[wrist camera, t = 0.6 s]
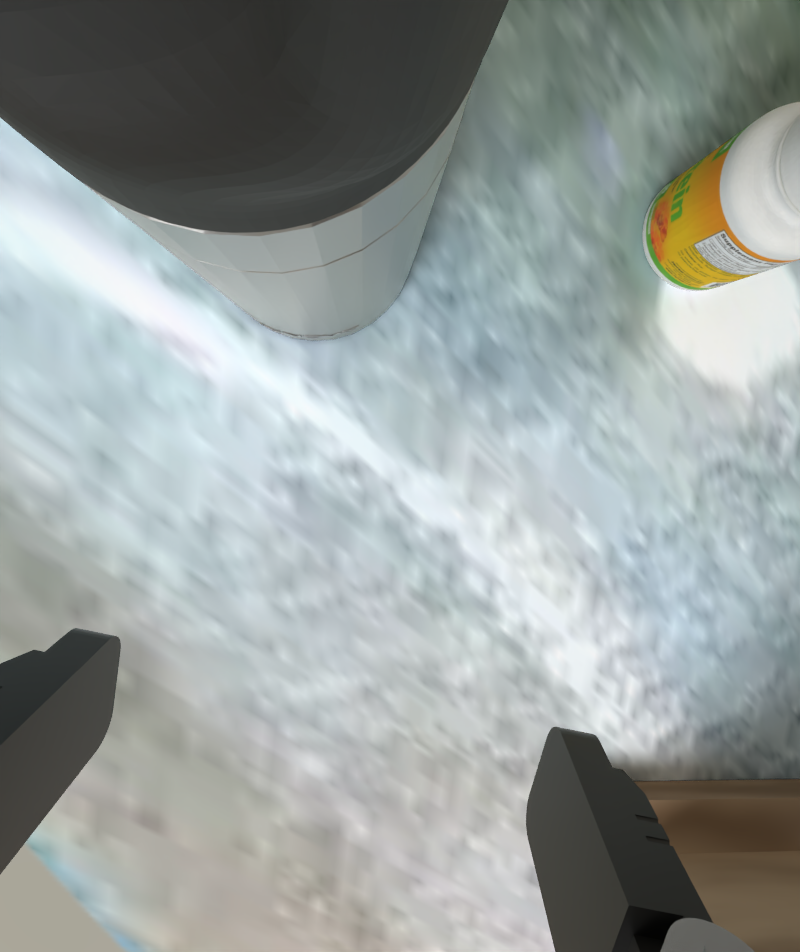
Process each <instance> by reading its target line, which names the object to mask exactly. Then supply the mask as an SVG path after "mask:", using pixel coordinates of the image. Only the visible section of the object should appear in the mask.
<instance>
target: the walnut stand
mask: <svg viewBox="0 0 800 952" xmlns="http://www.w3.org/2000/svg"><path fill="white" fill-rule="evenodd" d="M634 783H635V784H636V785H637V786H638V787H639V788H640V789H641V790H642V791H643V792H644V793H645V794H646V796H647V798H648V800H649V802H650V804H651V806H652V808H653V810H654V811H655V813H656V815H657V817H658V823H659V824H661V825H662V827H663V828H664V830H665V832H666V834H667V836H668V838H669V840H670V846H673V847H674V849H675V851H676V853H677V855H678V857H679V859H680V861H681V863H682V864H683V866H684V868H685V870H686V872H687V874H688V876H689V878H690V880H691V881H692V883H693V885H694V887H695V889H696V891H697V893H698V895H699V897H700V898H701V900H702V902H703V904H704V906H705V908H706V910H707V912H708V914H709V915H710V917H711V919H712V921H713V923H714V924H716V925H718V926H720V927H722V928H724V929H726V930H727V931H729V932H731V933H732V934H734V935H735V936H737V937H738V938H739V939H741V940H742V941H743V942H745V943H746V944H747V945H748V946H749V947H750V948H752V949H753V950H754V951H755V952H800V779H769V780H700V781H634Z"/></svg>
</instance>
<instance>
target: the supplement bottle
mask: <svg viewBox="0 0 800 952" xmlns="http://www.w3.org/2000/svg"><path fill="white" fill-rule="evenodd" d="M643 247H644V251H645V255H646V257H647V260H648V262H649V264H650V266H651V267H652V269H653V270H654V271H655V272H656V274H657V275H658V276H659V277H660V278H662V279H663V280H664V281H665V282H667V283H668V284H670V285H672V286H674V287H676V288H679V289H683V290H690V291H701V290H708V289H712V288H716V287H719V286H722V285H725V284H728V283H731V282H734V281H737V280H740V279H743V278H746V277H749V276H752V275H755V274H758V273H761V272H764V271H767V270H770V269H773V268H776V267H779V266H781V265H784V264H787V263H791V262H794V261H796V260H800V102H796V103H791V104H787V105H784V106H781V107H778V108H776V109H774V110H772V111H770V112H768V113H766V114H765V115H763V116H762V117H760V118H759V119H757V120H756V121H754V122H753V123H751V124H750V125H749V126H747V127H746V128H745V129H743V130H742V131H741V132H739V133H738V134H736V135H735V136H734V137H732V138H731V139H730V140H728V141H727V142H725V143H724V144H723V145H721V146H720V147H719V148H717V149H716V150H715V151H713V152H712V153H710V154H709V155H708V156H706V157H705V158H703V159H702V160H701V161H699V162H698V163H697V164H695V165H694V166H692V167H691V168H689V169H688V170H687V171H685V172H684V173H682V174H681V175H680V176H678V177H677V178H675V179H674V180H673V181H671V182H670V183H669V184H668V185H666V186H665V187H664V188H663V189H662V190H661V191H660V192H659V193H658V194H657V196H656V197H655V198H654V200H653V201H652V203H651V205H650V207H649V209H648V211H647V214H646V216H645V220H644V224H643Z"/></svg>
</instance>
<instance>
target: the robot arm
mask: <svg viewBox="0 0 800 952" xmlns="http://www.w3.org/2000/svg"><path fill="white" fill-rule="evenodd" d="M507 2H508V0H0V117H1V118H2V119H3V120H4V121H5V122H6V123H8V124H9V125H10V126H11V127H12V128H14V129H15V130H16V131H17V132H19V133H20V134H21V135H22V136H24V137H25V138H26V139H27V140H28V141H30V142H31V143H32V144H33V145H35V146H36V147H37V148H38V149H40V150H41V151H42V152H43V153H45V154H46V155H47V156H48V157H50V158H51V159H52V160H53V161H55V162H56V163H57V164H58V165H60V166H61V167H62V168H64V169H65V170H66V171H68V172H69V173H70V174H72V175H73V176H74V177H76V178H77V179H78V180H80V181H81V182H82V183H83V184H85V185H86V186H87V187H88V188H90V189H91V190H92V191H93V192H95V193H96V194H97V195H99V196H100V197H101V198H102V199H104V200H105V201H106V202H107V203H109V204H110V205H111V206H112V207H114V208H115V209H116V210H117V211H119V212H120V213H121V214H123V215H124V216H125V217H126V218H128V219H129V220H130V221H132V222H133V223H134V224H136V225H137V226H138V227H139V228H141V229H142V230H143V231H144V232H146V233H147V234H148V235H149V236H151V237H152V238H153V239H154V240H156V241H157V242H158V243H159V244H161V245H162V246H163V247H164V248H166V249H167V250H168V251H169V252H170V253H172V254H173V255H174V256H175V257H177V258H178V259H179V260H180V261H182V262H183V263H184V264H185V265H187V266H188V267H189V268H190V269H192V270H193V271H194V272H195V273H197V274H198V275H199V276H200V277H202V278H203V279H204V280H205V281H207V282H208V283H209V284H210V285H212V286H213V287H214V288H215V289H217V290H218V291H219V292H220V293H222V294H223V295H224V296H225V297H227V298H228V299H229V300H230V301H232V302H233V303H234V304H235V305H236V306H238V307H239V308H240V309H241V310H243V311H244V312H245V313H247V314H248V315H249V316H250V317H252V318H253V319H254V320H256V321H257V322H259V323H260V324H261V325H263V326H265V327H267V328H269V329H270V330H272V331H274V332H277V333H280V334H282V335H285V336H288V337H291V338H295V339H302V340H309V341H321V340H334V339H337V338H341V337H344V336H348V335H351V334H354V333H356V332H358V331H360V330H361V329H363V328H365V327H367V326H369V325H370V324H372V323H373V322H374V321H376V320H377V319H378V318H379V317H380V316H381V315H382V314H384V313H385V312H386V311H387V310H388V309H389V307H390V306H391V305H392V303H393V302H394V301H395V299H396V298H397V297H398V295H399V294H400V292H401V290H402V288H403V286H404V284H405V281H406V279H407V277H408V275H409V272H410V269H411V266H412V264H413V261H414V258H415V256H416V253H417V250H418V247H419V244H420V241H421V238H422V235H423V232H424V229H425V227H426V224H427V221H428V218H429V215H430V212H431V209H432V206H433V203H434V200H435V197H436V194H437V191H438V188H439V185H440V182H441V179H442V176H443V173H444V170H445V167H446V164H447V161H448V158H449V155H450V152H451V150H452V147H453V144H454V141H455V138H456V135H457V132H458V129H459V126H460V123H461V120H462V117H463V112H464V109H465V106H466V103H467V100H468V97H469V94H470V91H471V88H472V85H473V83H474V80H475V77H476V74H477V72H478V69H479V67H480V65H481V62H482V59H483V57H484V55H485V53H486V51H487V49H488V47H489V44H490V42H491V40H492V37H493V35H494V33H495V30H496V28H497V26H498V24H499V21H500V19H501V17H502V14H503V12H504V10H505V7H506V5H507ZM120 648H121V643H120V639H119V638H118V637H117V636H112V635H107V634H103V633H98V632H93V631H88V630H83V629H78V628H75V629H72V630H71V631H69V632H68V633H67V634H66V635H65V636H63V637H62V638H61V639H60V640H59V641H57V642H56V643H55V644H54V645H53V646H51V647H50V648H49V649H48V650H47V651H45V652H42V651H37V650H32V651H30V652H28V653H25V654H23V655H20V656H18V657H15V658H13V659H11V660H8V661H6V662H3V663H1V664H0V874H1V873H2V871H3V870H4V869H5V868H6V866H7V865H8V864H9V863H10V861H11V860H12V859H13V857H14V856H15V855H16V854H17V852H18V851H19V850H20V848H21V847H22V846H23V845H24V843H25V842H26V841H27V839H28V838H29V837H30V836H31V834H32V833H33V832H34V830H35V829H36V828H37V827H38V825H39V824H40V823H41V821H42V820H43V819H44V818H45V816H46V815H47V814H48V812H49V811H50V810H51V809H52V807H53V806H54V805H55V803H56V802H57V801H58V800H59V798H60V797H61V796H62V794H63V793H64V792H65V791H66V789H67V788H68V787H69V785H70V784H71V783H72V782H73V780H74V779H75V778H76V776H77V775H78V774H79V773H80V771H81V770H82V769H83V767H84V766H85V765H86V764H87V762H88V761H89V760H90V758H91V757H92V756H93V755H94V753H95V752H96V751H97V749H98V748H99V746H100V745H101V743H102V741H103V739H104V737H105V735H106V732H107V730H108V727H109V724H110V721H111V718H112V713H113V706H114V698H115V690H116V682H117V674H118V666H119V657H120ZM526 827H527V835H528V840H529V844H530V848H531V852H532V857H533V861H534V865H535V869H536V873H537V877H538V881H539V886H540V890H541V894H542V898H543V902H544V906H545V910H546V915H547V919H548V923H549V927H550V931H551V935H552V939H553V943H554V948H555V952H755V951H754V950H753V949H752V948H750V947H749V946H748V945H747V944H746V943H745V942H743V941H742V940H741V939H739V938H738V937H737V936H735V935H734V934H732V933H731V932H729V931H727V930H726V929H724V928H722V927H720V926H718V925H716V924H714V923H713V921H712V919H711V917H710V915H709V914H708V912H707V910H706V908H705V906H704V904H703V902H702V900H701V898H700V897H699V895H698V893H697V891H696V889H695V887H694V885H693V883H692V881H691V880H690V878H689V876H688V874H687V872H686V870H685V868H684V866H683V864H682V863H681V861H680V859H679V857H678V855H677V853H676V851H675V849H674V847H673V846H670V840H669V838H668V836H667V834H666V832H665V830H664V828H663V827H662V825H661V824H659V823H658V817H657V815H656V813H655V811H654V810H653V808H652V806H651V804H650V802H649V800H648V798H647V796H646V794H645V793H644V792H643V791H642V790H641V789H640V788H639V787H638V786H637V785H636V784H635V783H634V781H633V780H632V779H631V778H630V777H629V776H628V775H627V774H626V773H625V772H624V771H623V770H621V769H616V768H612V766H611V764H610V762H609V760H608V758H607V756H606V754H605V751H604V749H603V747H602V745H601V743H600V741H599V739H598V738H597V737H596V736H595V735H594V734H589V733H584V732H579V731H574V730H569V729H564V728H559V727H553V728H552V729H551V730H550V732H549V734H548V736H547V739H546V742H545V746H544V749H543V752H542V756H541V759H540V762H539V765H538V769H537V772H536V775H535V778H534V782H533V785H532V788H531V791H530V795H529V799H528V804H527V813H526Z"/></svg>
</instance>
